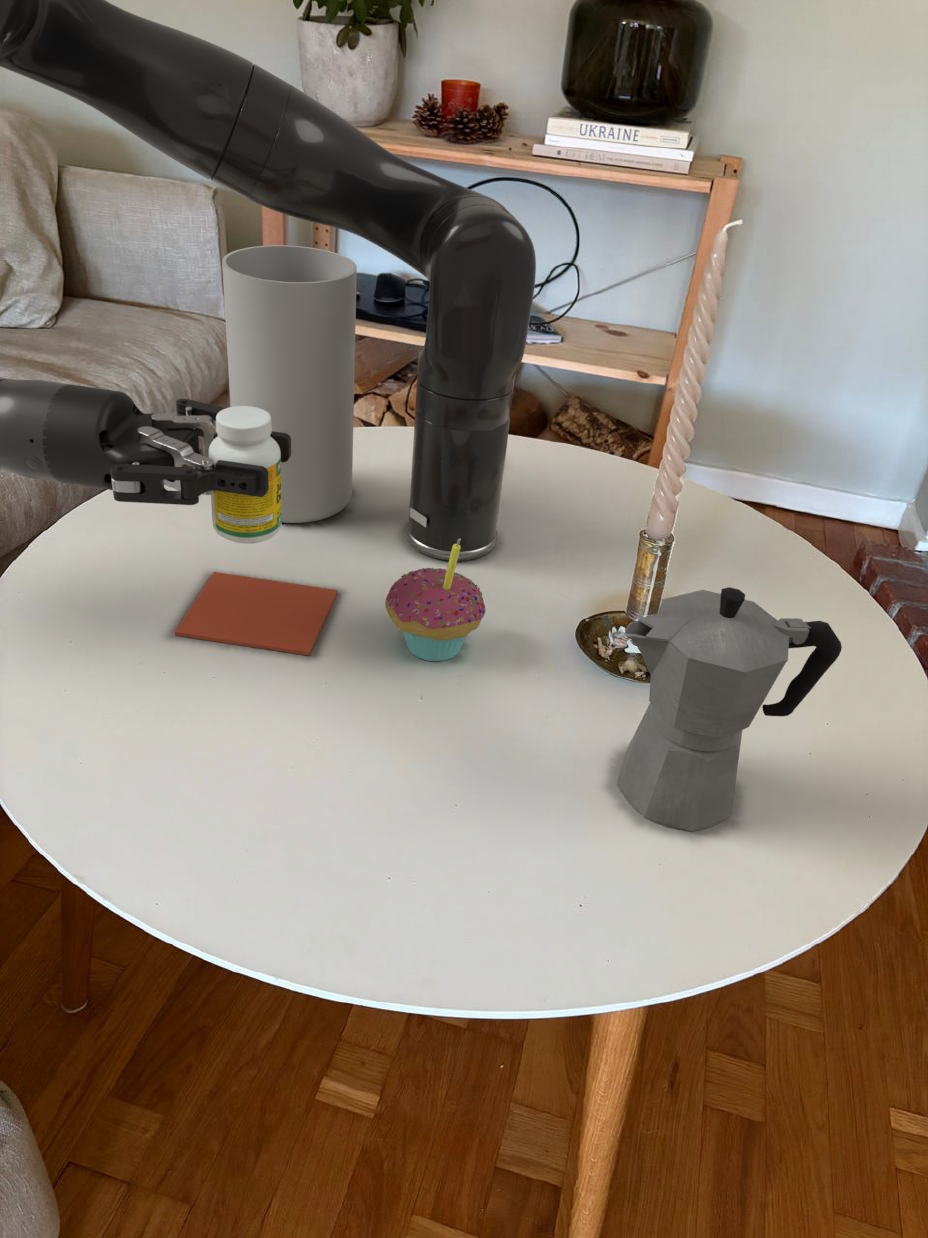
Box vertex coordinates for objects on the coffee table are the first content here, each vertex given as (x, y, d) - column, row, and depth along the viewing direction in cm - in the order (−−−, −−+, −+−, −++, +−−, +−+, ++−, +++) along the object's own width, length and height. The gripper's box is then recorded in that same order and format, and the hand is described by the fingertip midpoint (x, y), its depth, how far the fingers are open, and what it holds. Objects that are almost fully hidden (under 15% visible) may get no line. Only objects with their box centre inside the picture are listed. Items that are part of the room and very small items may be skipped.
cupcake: (499, 649, 85) (515, 532, 79) (432, 689, 80) (443, 567, 73) (431, 607, 90) (440, 493, 83) (363, 642, 85) (367, 523, 78)
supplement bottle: (205, 516, 77) (198, 404, 72) (270, 507, 79) (268, 398, 74) (223, 550, 73) (216, 434, 68) (290, 540, 75) (289, 427, 70)
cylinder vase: (261, 464, 111) (252, 238, 96) (365, 482, 109) (372, 256, 95) (217, 514, 101) (199, 270, 86) (331, 534, 99) (333, 290, 85)
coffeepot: (603, 835, 68) (654, 631, 58) (579, 744, 76) (620, 550, 66) (808, 834, 70) (892, 636, 60) (764, 746, 78) (832, 557, 67)
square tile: (214, 575, 91) (214, 571, 91) (337, 593, 90) (337, 589, 90) (174, 635, 83) (174, 631, 83) (309, 655, 82) (309, 652, 82)
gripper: (6, 425, 66) (247, 460, 65) (98, 354, 77) (304, 383, 76) (25, 520, 70) (251, 554, 69) (109, 440, 82) (304, 468, 81)
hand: (278, 464), depth 73 cm, fingers closed on supplement bottle, 5 cm apart
